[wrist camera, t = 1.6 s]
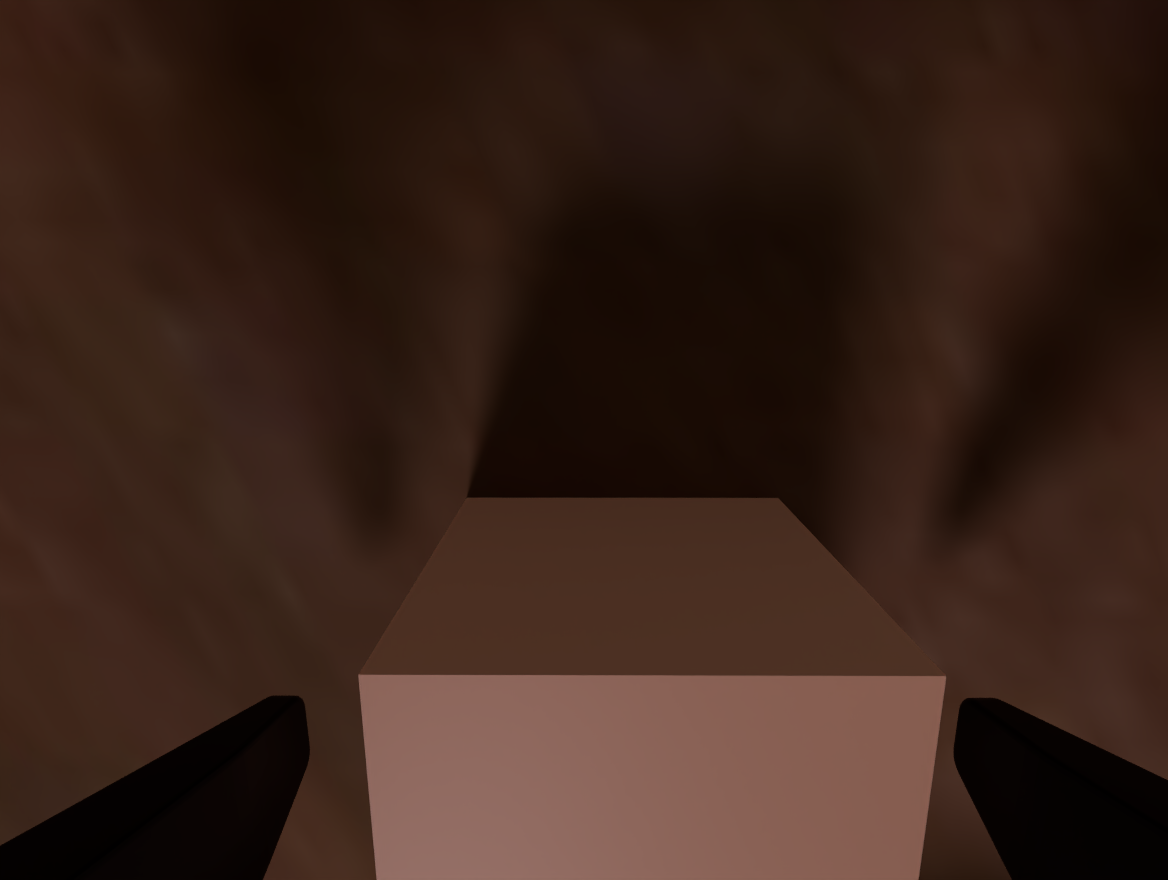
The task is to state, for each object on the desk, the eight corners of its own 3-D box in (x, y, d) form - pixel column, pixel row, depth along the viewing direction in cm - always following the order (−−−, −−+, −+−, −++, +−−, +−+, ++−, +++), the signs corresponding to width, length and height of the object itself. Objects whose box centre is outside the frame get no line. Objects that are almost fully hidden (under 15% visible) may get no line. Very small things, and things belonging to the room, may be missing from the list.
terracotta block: (758, 762, 11) (886, 1114, 6) (479, 762, 11) (397, 1111, 7) (776, 496, 10) (947, 677, 5) (467, 496, 10) (358, 675, 5)
